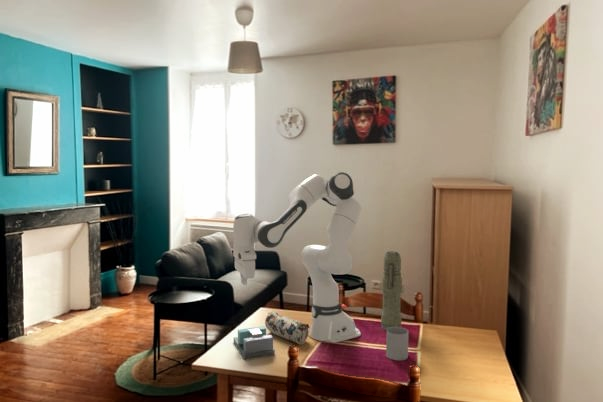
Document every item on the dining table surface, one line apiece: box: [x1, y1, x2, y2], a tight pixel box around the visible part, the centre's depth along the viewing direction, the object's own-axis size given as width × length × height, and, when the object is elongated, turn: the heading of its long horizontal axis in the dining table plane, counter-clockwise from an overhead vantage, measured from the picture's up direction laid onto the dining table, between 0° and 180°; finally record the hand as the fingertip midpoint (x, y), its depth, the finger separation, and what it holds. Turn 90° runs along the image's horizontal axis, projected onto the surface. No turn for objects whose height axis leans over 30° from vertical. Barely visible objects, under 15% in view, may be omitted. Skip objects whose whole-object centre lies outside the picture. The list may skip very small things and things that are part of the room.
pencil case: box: [264, 310, 311, 345], centre depth 188 cm, size 22×8×10 cm, turn 43°
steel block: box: [248, 328, 262, 338], centre depth 174 cm, size 4×6×6 cm, turn 22°
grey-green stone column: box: [380, 250, 403, 332], centre depth 197 cm, size 9×12×35 cm
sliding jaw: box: [237, 325, 267, 344], centre depth 178 cm, size 11×3×5 cm, turn 112°
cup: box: [385, 326, 409, 361], centre depth 170 cm, size 8×8×10 cm
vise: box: [233, 334, 276, 361], centre depth 176 cm, size 12×18×7 cm, turn 22°
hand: (244, 283), depth 188 cm, fingers closed
